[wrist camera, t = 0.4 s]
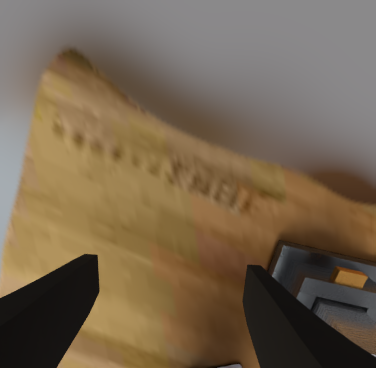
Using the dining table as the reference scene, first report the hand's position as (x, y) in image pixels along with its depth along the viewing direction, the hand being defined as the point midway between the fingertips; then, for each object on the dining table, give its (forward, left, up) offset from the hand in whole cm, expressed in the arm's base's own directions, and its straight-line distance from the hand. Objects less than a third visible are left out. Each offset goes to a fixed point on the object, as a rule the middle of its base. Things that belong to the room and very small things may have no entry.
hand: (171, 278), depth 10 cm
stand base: (-13, -10, -10) cm, 19 cm away
